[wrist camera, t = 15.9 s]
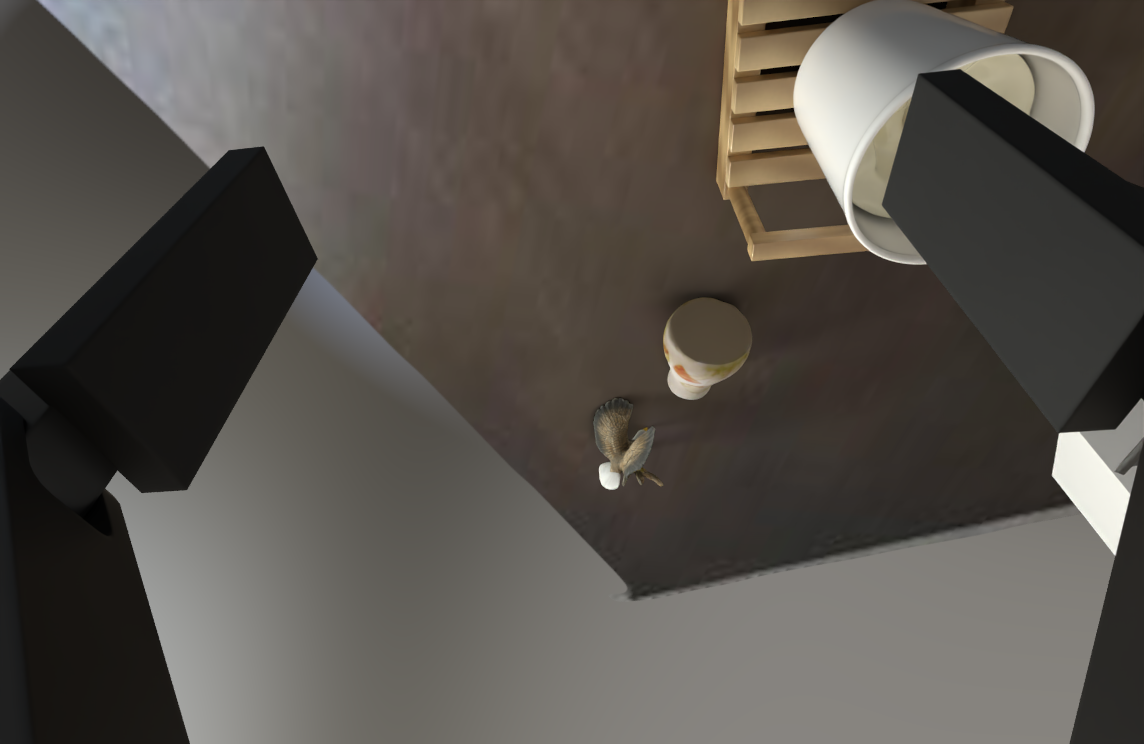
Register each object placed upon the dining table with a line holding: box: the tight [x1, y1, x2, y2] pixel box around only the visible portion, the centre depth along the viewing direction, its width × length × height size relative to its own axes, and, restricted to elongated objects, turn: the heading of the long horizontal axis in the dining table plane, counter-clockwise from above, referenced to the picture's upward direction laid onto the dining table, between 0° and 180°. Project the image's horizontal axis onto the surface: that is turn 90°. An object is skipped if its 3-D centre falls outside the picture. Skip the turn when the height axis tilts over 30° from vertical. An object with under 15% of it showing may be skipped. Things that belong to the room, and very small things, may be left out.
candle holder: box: [793, 0, 1095, 264], centre depth 30 cm, size 10×10×12 cm
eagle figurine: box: [593, 398, 663, 490], centre depth 60 cm, size 8×7×9 cm
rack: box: [716, 0, 1014, 261], centre depth 34 cm, size 13×15×11 cm
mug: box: [663, 297, 752, 400], centre depth 51 cm, size 8×10×10 cm
